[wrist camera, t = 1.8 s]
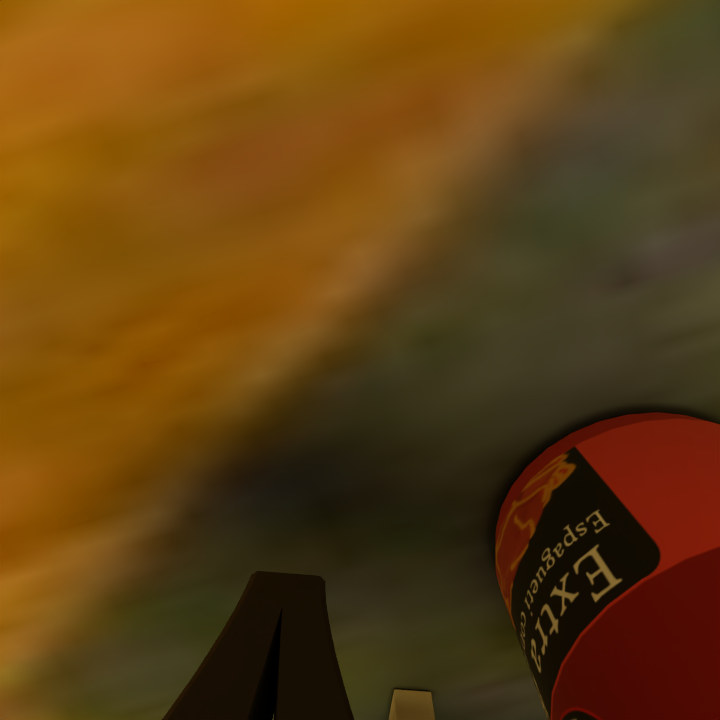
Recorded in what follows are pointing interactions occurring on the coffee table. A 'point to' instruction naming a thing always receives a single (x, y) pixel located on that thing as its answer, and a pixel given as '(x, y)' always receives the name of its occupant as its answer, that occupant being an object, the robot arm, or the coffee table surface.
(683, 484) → the canned food
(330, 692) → the robot arm
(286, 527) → the coffee table surface
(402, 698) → the light wooden block
